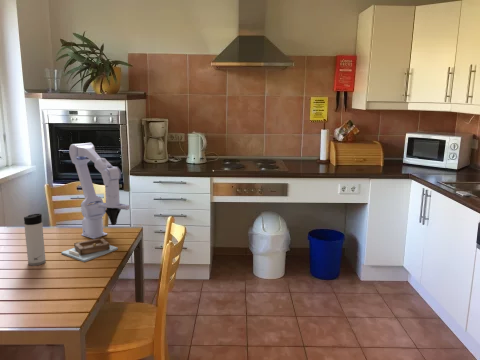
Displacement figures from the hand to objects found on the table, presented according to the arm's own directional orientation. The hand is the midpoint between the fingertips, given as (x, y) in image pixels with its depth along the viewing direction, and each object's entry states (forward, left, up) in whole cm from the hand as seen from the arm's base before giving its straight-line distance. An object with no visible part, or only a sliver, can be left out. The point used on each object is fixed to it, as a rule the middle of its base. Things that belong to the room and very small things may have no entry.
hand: (113, 224), depth 185 cm
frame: (-1, -12, -8) cm, 14 cm away
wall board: (-1, -12, -9) cm, 15 cm away
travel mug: (-8, -32, -9) cm, 34 cm away
